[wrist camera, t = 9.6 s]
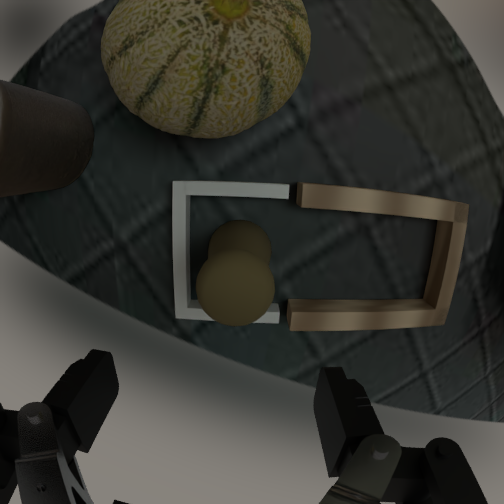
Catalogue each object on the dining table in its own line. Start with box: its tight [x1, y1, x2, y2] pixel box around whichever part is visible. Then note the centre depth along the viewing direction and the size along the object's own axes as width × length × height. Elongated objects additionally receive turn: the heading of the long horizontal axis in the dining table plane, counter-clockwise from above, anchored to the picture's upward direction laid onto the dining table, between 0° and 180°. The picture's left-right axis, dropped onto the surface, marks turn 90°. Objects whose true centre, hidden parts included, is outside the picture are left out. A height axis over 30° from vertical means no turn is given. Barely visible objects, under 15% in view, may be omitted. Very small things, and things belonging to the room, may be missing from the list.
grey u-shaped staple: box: [172, 180, 289, 323], centre depth 28 cm, size 10×13×2 cm
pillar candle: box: [0, 80, 94, 198], centre depth 18 cm, size 10×10×15 cm
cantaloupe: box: [101, 0, 311, 138], centre depth 17 cm, size 15×15×15 cm
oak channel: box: [287, 182, 469, 331], centre depth 28 cm, size 18×14×3 cm
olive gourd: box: [196, 220, 275, 326], centre depth 24 cm, size 6×6×11 cm
